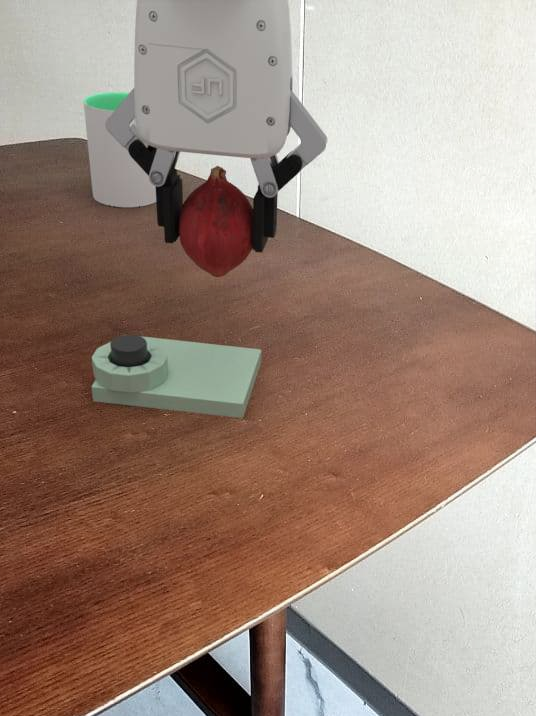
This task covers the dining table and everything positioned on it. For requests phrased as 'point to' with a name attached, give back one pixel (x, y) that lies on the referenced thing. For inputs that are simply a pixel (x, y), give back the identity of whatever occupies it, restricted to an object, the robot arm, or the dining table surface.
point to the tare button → (129, 351)
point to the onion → (216, 225)
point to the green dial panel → (180, 377)
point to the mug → (113, 158)
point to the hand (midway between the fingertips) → (217, 238)
